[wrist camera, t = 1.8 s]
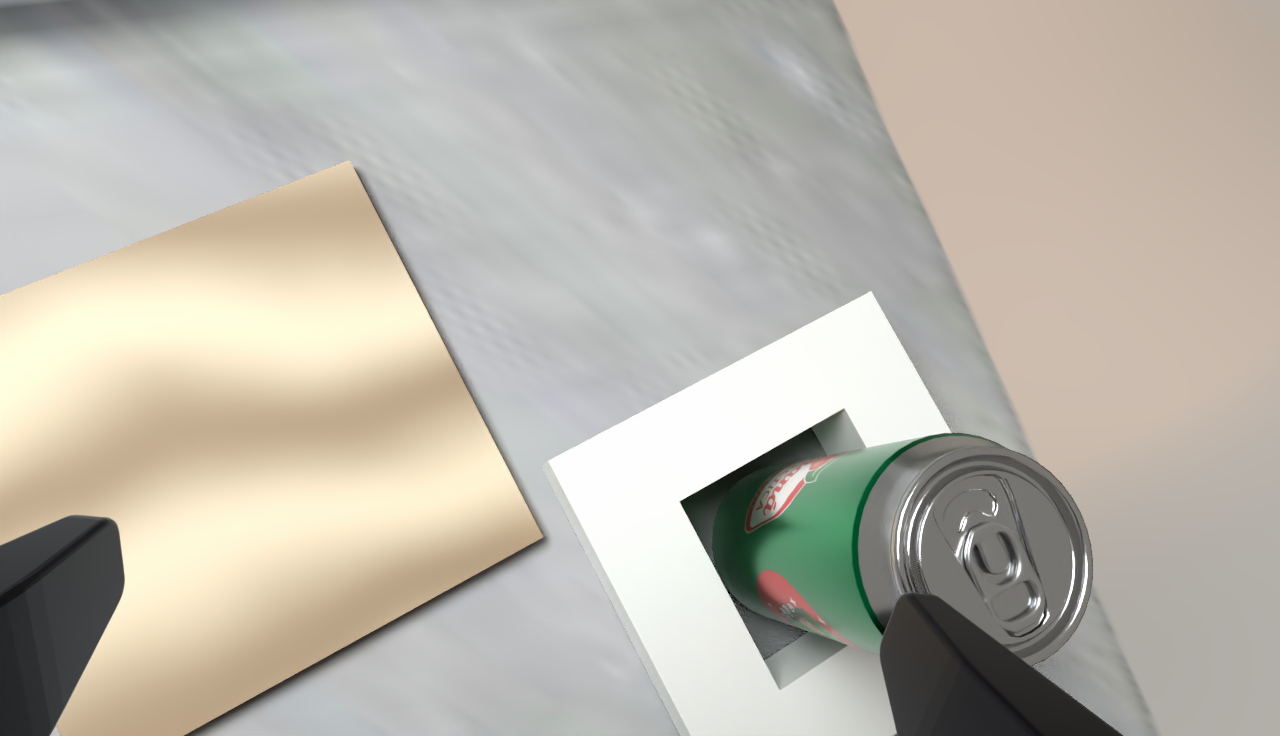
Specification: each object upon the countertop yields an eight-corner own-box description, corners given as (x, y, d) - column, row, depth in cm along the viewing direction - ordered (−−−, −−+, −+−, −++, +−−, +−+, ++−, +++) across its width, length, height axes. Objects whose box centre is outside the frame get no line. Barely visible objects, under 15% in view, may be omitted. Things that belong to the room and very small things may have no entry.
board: (542, 536, 25) (543, 537, 25) (93, 783, 22) (84, 790, 21) (352, 166, 27) (349, 159, 26) (-104, 344, 23) (-117, 340, 22)
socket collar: (998, 608, 28) (1056, 618, 25) (715, 804, 25) (745, 841, 22) (832, 314, 29) (871, 291, 26) (541, 467, 26) (548, 460, 23)
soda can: (811, 444, 28) (1041, 390, 16) (870, 579, 27) (1153, 622, 16) (683, 500, 26) (835, 484, 15) (743, 643, 26) (948, 741, 14)
